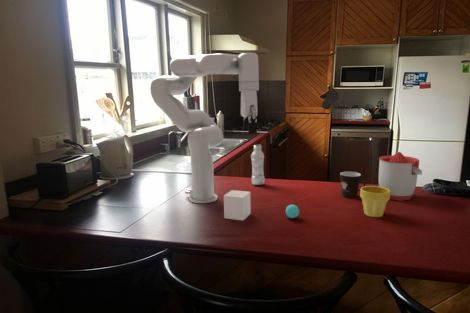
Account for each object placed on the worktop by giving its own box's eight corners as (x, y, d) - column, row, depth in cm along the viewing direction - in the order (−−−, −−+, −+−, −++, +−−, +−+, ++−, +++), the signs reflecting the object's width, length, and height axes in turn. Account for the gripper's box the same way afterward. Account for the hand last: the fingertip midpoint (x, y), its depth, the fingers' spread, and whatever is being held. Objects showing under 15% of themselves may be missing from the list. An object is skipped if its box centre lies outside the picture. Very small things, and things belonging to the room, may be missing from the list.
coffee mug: (336, 193, 162) (337, 172, 160) (354, 192, 163) (355, 171, 161) (346, 201, 151) (347, 178, 149) (366, 200, 151) (367, 177, 149)
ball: (283, 219, 132) (284, 206, 131) (287, 214, 137) (287, 202, 136) (297, 220, 130) (297, 207, 130) (300, 216, 135) (300, 203, 134)
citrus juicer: (410, 206, 143) (414, 157, 140) (370, 197, 156) (372, 151, 152) (426, 197, 153) (430, 152, 150) (387, 189, 166) (389, 147, 162)
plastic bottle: (263, 186, 175) (263, 146, 172) (250, 186, 177) (249, 146, 173) (265, 183, 182) (265, 144, 178) (252, 182, 183) (251, 144, 179)
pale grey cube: (224, 218, 135) (223, 195, 133) (232, 211, 142) (231, 190, 140) (243, 220, 132) (242, 197, 130) (250, 213, 139) (250, 191, 137)
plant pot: (387, 210, 139) (389, 186, 137) (389, 220, 129) (391, 194, 127) (359, 208, 142) (360, 184, 140) (359, 217, 133) (360, 192, 131)
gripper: (235, 87, 144) (237, 130, 147) (243, 87, 127) (244, 135, 130) (253, 86, 145) (254, 129, 148) (264, 86, 128) (264, 133, 131)
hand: (250, 131), depth 139 cm, fingers open, 9 cm apart
